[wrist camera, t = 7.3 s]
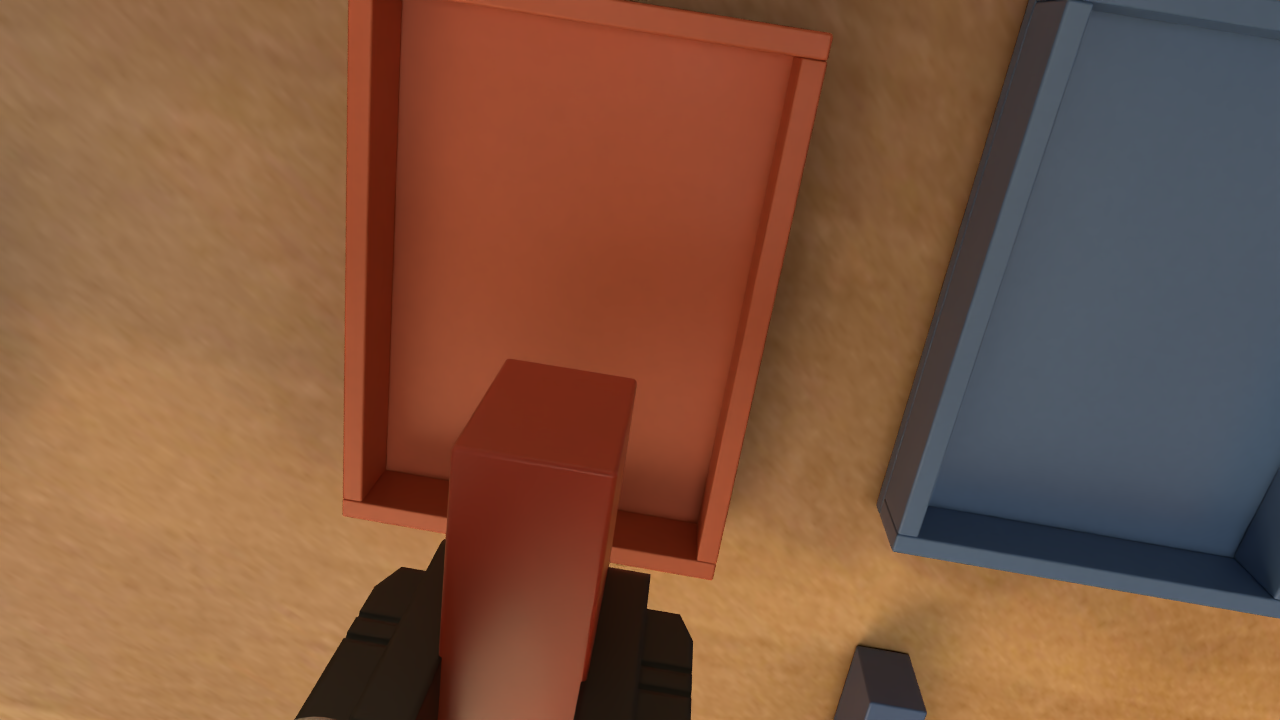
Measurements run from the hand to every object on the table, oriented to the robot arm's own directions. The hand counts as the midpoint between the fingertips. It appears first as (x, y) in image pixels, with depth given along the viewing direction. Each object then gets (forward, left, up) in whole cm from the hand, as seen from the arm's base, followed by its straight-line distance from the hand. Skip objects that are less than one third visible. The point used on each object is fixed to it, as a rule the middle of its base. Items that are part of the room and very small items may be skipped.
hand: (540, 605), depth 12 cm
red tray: (+1, -2, -13) cm, 13 cm away
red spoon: (+1, +1, 0) cm, 1 cm away
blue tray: (-13, +6, -13) cm, 19 cm away
